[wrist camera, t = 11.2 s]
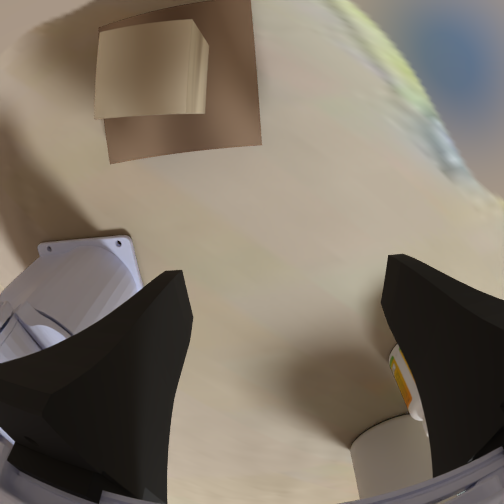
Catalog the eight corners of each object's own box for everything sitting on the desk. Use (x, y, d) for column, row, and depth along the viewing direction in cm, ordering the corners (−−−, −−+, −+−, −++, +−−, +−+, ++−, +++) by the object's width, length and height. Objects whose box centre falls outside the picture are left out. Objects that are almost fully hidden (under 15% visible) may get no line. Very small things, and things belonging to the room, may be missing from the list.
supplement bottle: (412, 371, 27) (443, 440, 19) (377, 364, 27) (406, 443, 18) (442, 335, 25) (484, 404, 17) (408, 325, 24) (452, 404, 16)
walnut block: (128, 156, 19) (110, 164, 16) (118, 36, 15) (98, 27, 12) (260, 140, 18) (261, 144, 16) (250, 13, 14) (250, -4, 12)
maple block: (136, 116, 15) (94, 119, 10) (139, 50, 13) (99, 32, 8) (205, 113, 15) (185, 113, 10) (209, 45, 13) (192, 19, 9)
